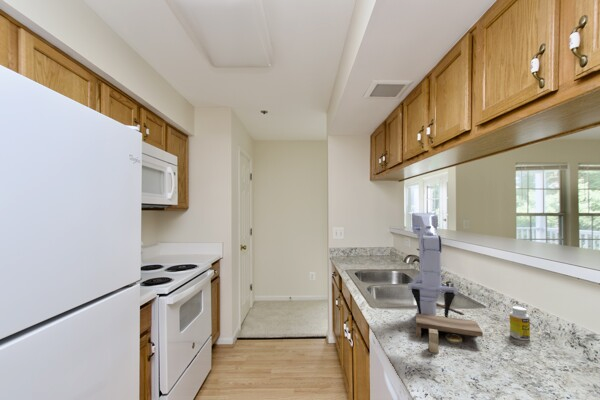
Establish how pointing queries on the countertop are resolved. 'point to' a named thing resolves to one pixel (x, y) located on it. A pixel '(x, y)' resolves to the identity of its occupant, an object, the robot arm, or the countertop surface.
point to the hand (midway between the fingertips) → (432, 315)
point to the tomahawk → (451, 309)
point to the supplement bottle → (519, 323)
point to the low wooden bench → (447, 325)
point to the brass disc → (454, 338)
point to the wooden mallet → (433, 340)
